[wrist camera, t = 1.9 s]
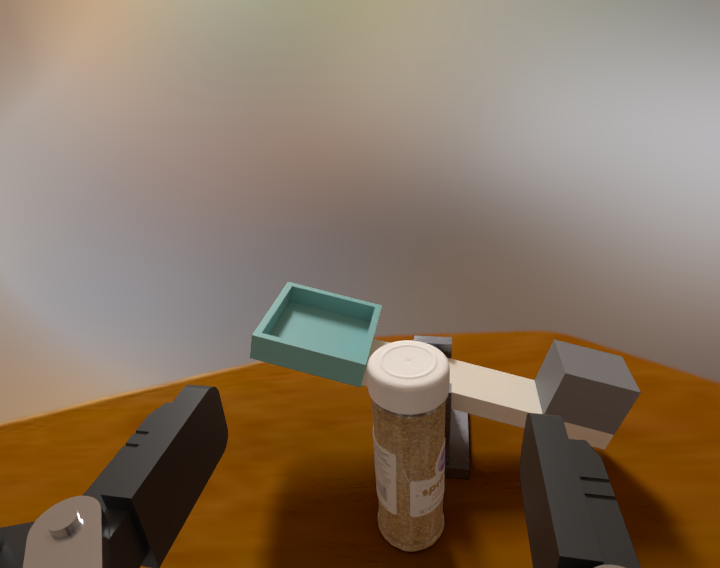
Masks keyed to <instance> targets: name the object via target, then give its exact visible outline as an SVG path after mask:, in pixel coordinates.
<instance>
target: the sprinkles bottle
mask: <svg viewBox="0 0 720 568" xmlns="http://www.w3.org/2000/svg"><path fill="white" fill-rule="evenodd" d="M367 379H368V391H369V394H370V396H371V400H372V409H373V443H374V459H375V475H376V490H377V496H378V500H379V511H378V526H379V529H380V532H381V533H382V535H383V537H384V538H385V539H386V540H387V541H388V542H389V543H390V544H391V545H393V546H395V547H397V548H398V549H401V550H403V551H412V552H414V551H419V550H422V549H426V548H428V547H429V546H432V545H433V544H434V543H435V542H436V541H437V540H438V539H439V537H440V536H441V533H442V532H443V528H444V514H443V495H444V477H445V402H446V398H447V396H448V393H449V384H450V366H449V362H448V359H447V358H446V356H445V355H444V354H443V352H441V351H440V350H439V349H438V348H436V347H434V346H432V345H430V344H427V343H423V342H418V341H397V342H393V343H389V344H387V345H384V346H382V347H380V348H379V349H377V350H376V351H375V352H374V353H373V354H372V355H371V357H370V358H369V361H368V365H367Z"/></svg>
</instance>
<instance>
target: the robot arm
mask: <svg viewBox="0 0 720 568" xmlns="http://www.w3.org/2000/svg"><path fill="white" fill-rule="evenodd" d="M227 440H228V429H227V424H226V420H225V416H224V412H223V407H222V403H221V399H220V394H219V391H218V389H217V388H216V387H210V386H197V385H187V386H185V387H184V388H183V389H182V391H181V392H180V393H179V394H178V396H177V397H176V398H175V400H174V401H173V402H172V403H167V402H166V403H165V404H164V405H162V406H161V407H159V408H158V409H157V410H155V411H154V412H152V413H151V414H150V415H148V416H147V418H146V419H145V420H144V421H143V423H142V424H141V425H140V426H139V427H138V429H137V430H136V433H135V434H133V435H132V436H131V437H130V438H129V440H128V441H127V442H126V446H123V447H122V448H121V449H120V451H119V452H118V453H117V454H116V456H115V457H114V458H113V459H112V460H111V462H110V463H109V464H108V465H107V467H106V468H105V469H104V470H103V471H102V473H101V474H100V475H99V476H98V478H97V479H96V480H95V481H94V482H93V484H92V485H91V486H90V487H89V489H88V490H87V491H86V492H85V493H84V494H83V496H76V497H72V498H69V499H66V500H63V501H61V502H59V503H57V504H55V505H54V506H52V507H51V508H49V509H48V510H47V511H45V512H44V513H43V514H42V515H41V516H40V517H39V518H38V519H37V520H36V521H35V522H30V523H25V524H19V525H13V526H7V527H2V528H0V568H140V566H145V567H152V568H159V567H160V566H161V564H162V562H163V560H164V559H165V557H166V555H167V553H168V551H169V550H170V548H171V546H172V544H173V542H174V541H175V539H176V537H177V535H178V534H179V532H180V530H181V528H182V526H183V525H184V523H185V521H186V519H187V517H188V516H189V514H190V512H191V510H192V509H193V507H194V505H195V503H196V501H197V500H198V498H199V496H200V494H201V492H202V491H203V489H204V487H205V485H206V484H207V482H208V480H209V478H210V476H211V475H212V473H213V471H214V469H215V467H216V466H217V464H218V462H219V460H220V459H221V457H222V455H223V453H224V451H225V448H226V445H227ZM520 482H521V490H522V497H523V503H524V510H525V517H526V523H527V530H528V536H529V543H530V549H531V556H532V563H533V568H641V567H640V564H639V562H638V559H637V556H636V553H635V550H634V548H633V545H632V542H631V539H630V536H629V533H628V531H627V528H626V525H625V522H624V519H623V517H622V514H621V511H620V508H619V505H618V503H617V501H616V500H615V494H614V491H613V489H612V486H611V483H609V477H608V475H607V472H606V469H605V466H604V463H603V460H602V458H601V457H600V456H599V455H598V454H597V453H596V451H595V450H594V449H593V448H592V447H591V446H590V444H589V443H588V442H587V441H586V440H576V439H569V438H568V435H567V431H566V428H565V424H564V421H563V418H562V417H561V416H560V415H549V414H537V413H528V414H527V417H526V423H525V430H524V437H523V444H522V451H521V458H520Z"/></svg>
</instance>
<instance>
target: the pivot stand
mask: <svg viewBox="0 0 720 568" xmlns="http://www.w3.org/2000/svg"><path fill="white" fill-rule="evenodd" d="M414 341H418V342H423V343H427V344H430V345H432V346H434V347H436V348H438V349H439V350H440V351H441V352H443V354H444V355H445V356H446V358H450V359H451V353H452V337H434V336H414ZM451 394H452V383H450V384H449V393H448V396H447V398H446V402H445V477H449V478H459V479H469V474H470V463H469V436H468V413H465V412H461V411H458V410H454V409H451Z"/></svg>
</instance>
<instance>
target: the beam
mask: <svg viewBox="0 0 720 568" xmlns="http://www.w3.org/2000/svg"><path fill="white" fill-rule="evenodd" d="M381 307H382V305H378V304H374V303H370V302H366V301H362V300H358V299H354V298H350V297H346V296H342V295H338V294H334V293H331V292H327V291H323V290H319V289H314V288H311V287H307V286H302V285H299V284H295V283H291V282H288V283H287V284H286V286H285V287H284V289H283V290H282V292H281V293H280V295H279V296H278V298H277V299H276V301H275V302H274V303H273V305H272V306H271V308H270V309H269V311H268V312H267V314H266V315H265V317H264V318H263V320H262V321H261V323H260V324H259V326H258V327H257V329H256V330H255V331H254V333H253V335H252V342H251V354H250V358H252V359H256V360H260V361H263V362H267V363H271V364H275V365H278V366H282V367H286V368H290V369H293V370H297V371H301V372H305V373H308V374H312V375H316V376H320V377H324V378H327V379H331V380H335V381H339V382H342V383H346V384H350V385H354V386H357V387H361V385H363V386H367V387H368V379H367V365H368V361H369V358H370V357H371V355H372V354H373V353H374V352H375V351H376V350H377V349H379V348H380V347H382V346H384V345H387V344H389V343H388V342H384V341H380V340H376V339H374V335H375V331H376V327H377V324H378V319H379V316H380V311H381ZM447 359H448V362H449V366H450V383H452V394H451V409H454V410H458V411H461V412H465V413H469V414H473V415H476V416H480V417H484V418H488V419H491V420H495V421H499V422H503V423H507V424H510V425H514V426H518V427H522V428H525V423H526V417H527V414H528V413H537V414H549V415H560V416H561V417H562V418H563V421H564V424H565V428H566V431H567V435H568V438H569V439H576V440H586V441H587V442H588V443H589V444H590V446H593V447H597V448H601V449H604V450H605V448H606V447H607V445H608V443H609V442H610V440H611V439H612V437H613V436H614V434H615V432H616V431H617V429H618V428H619V426H620V425H621V423H622V421H623V420H624V418H625V417H626V415H627V413H628V412H629V410H630V409H631V407H632V406H633V404H634V402H635V401H636V399H637V398H638V396H639V395H640V393H641V392H640V390H639V388H638V386H637V384H636V382H635V381H634V379H633V377H632V375H631V373H630V371H629V369H628V367H627V365H626V364H625V362H624V360H623V358H622V357H621V356H617V355H613V354H609V353H606V352H602V351H598V350H594V349H590V348H586V347H582V346H578V345H574V344H570V343H566V342H562V341H558V340H554V341H553V343H552V345H551V347H550V349H549V351H548V353H547V355H546V358H545V360H544V362H543V364H542V366H541V368H540V370H539V372H538V374H537V376H536V378H535V380H531V379H527V378H524V377H520V376H516V375H512V374H508V373H504V372H500V371H496V370H493V369H489V368H485V367H481V366H477V365H473V364H469V363H465V362H462V361H458V360H454V359H450V358H447Z"/></svg>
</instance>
